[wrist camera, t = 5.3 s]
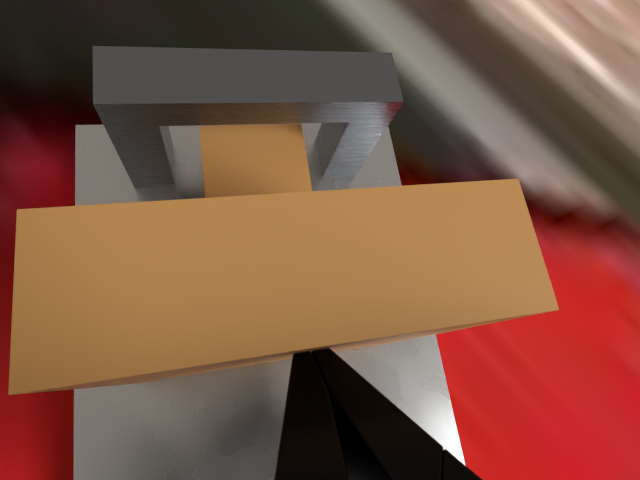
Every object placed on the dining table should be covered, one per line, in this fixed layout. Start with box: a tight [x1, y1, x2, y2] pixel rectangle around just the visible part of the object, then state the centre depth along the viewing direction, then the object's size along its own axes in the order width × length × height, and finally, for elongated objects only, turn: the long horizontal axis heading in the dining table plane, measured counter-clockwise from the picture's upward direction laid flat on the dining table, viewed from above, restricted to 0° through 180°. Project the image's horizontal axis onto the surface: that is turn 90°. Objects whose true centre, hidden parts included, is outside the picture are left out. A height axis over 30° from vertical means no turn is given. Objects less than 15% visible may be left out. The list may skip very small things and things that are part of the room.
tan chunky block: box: [8, 124, 559, 395], centre depth 13 cm, size 9×10×9 cm
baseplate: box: [73, 46, 465, 480], centre depth 14 cm, size 24×14×7 cm, turn 8°
